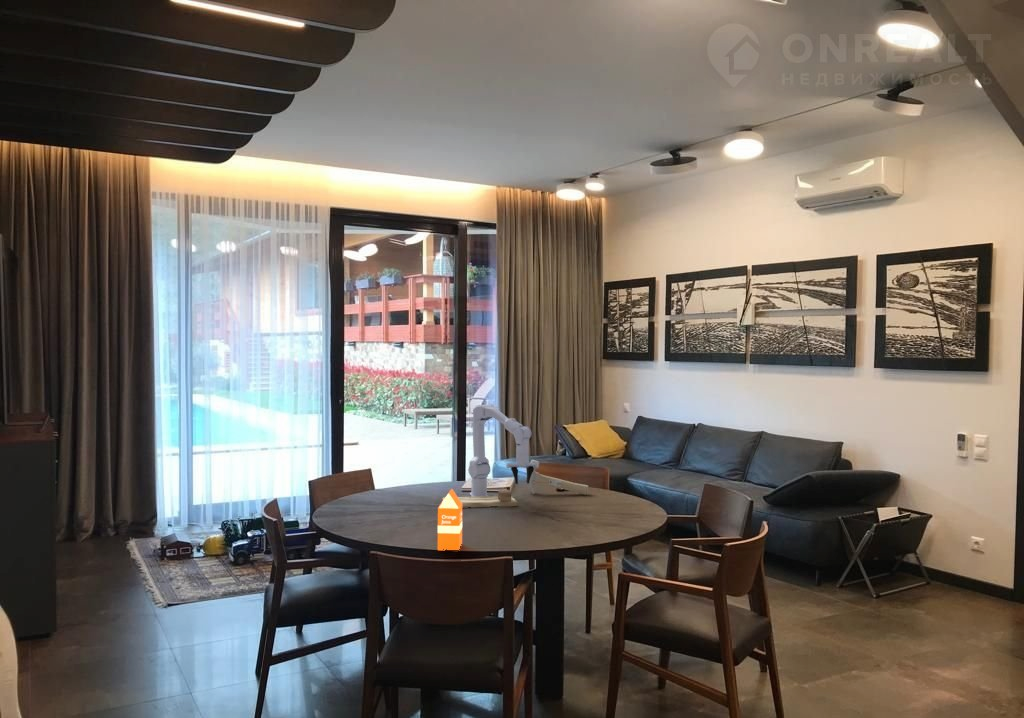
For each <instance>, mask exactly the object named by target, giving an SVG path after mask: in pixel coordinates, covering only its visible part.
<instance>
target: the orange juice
mask: <svg viewBox="0 0 1024 718" xmlns="http://www.w3.org/2000/svg"><path fill="white" fill-rule="evenodd" d="M444 497H445V499H444V500H443V502H441V503H440V504H439V506H438V507H437V551H445V550H446V549H447V550H459V549H460V550H461V548H460V546H461V547H462V545H463V508H462V505H463V504H462V503H461V501H460V500H459V498H458V497H459V496H457V494H456V492H455V491H454V489H453V488H451V489H450V491H448V493H447V495H446V496H444ZM461 544H462V545H461ZM443 549H444V550H443ZM460 550H459V551H460Z"/></svg>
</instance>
